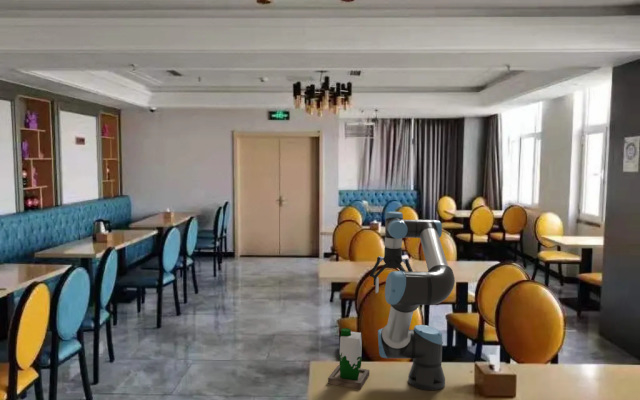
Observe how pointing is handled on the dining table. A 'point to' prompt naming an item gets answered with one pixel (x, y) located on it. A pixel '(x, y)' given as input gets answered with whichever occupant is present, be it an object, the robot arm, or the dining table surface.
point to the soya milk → (350, 354)
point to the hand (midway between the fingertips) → (391, 294)
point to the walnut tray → (336, 379)
